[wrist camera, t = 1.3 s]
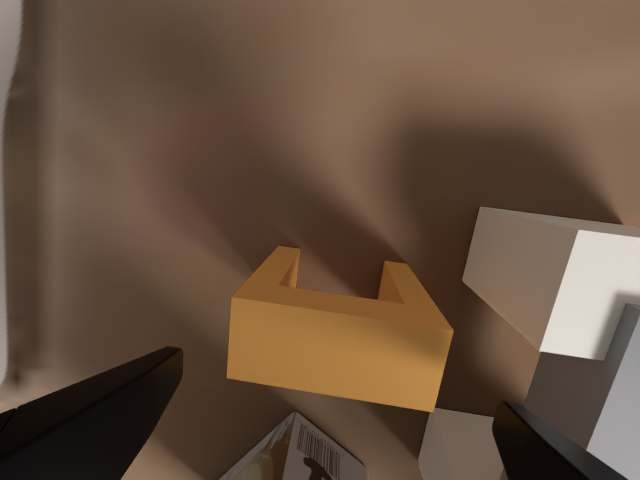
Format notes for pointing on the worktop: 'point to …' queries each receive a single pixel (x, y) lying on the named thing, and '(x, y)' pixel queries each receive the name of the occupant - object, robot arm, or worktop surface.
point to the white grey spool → (555, 338)
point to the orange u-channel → (339, 336)
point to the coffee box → (297, 456)
